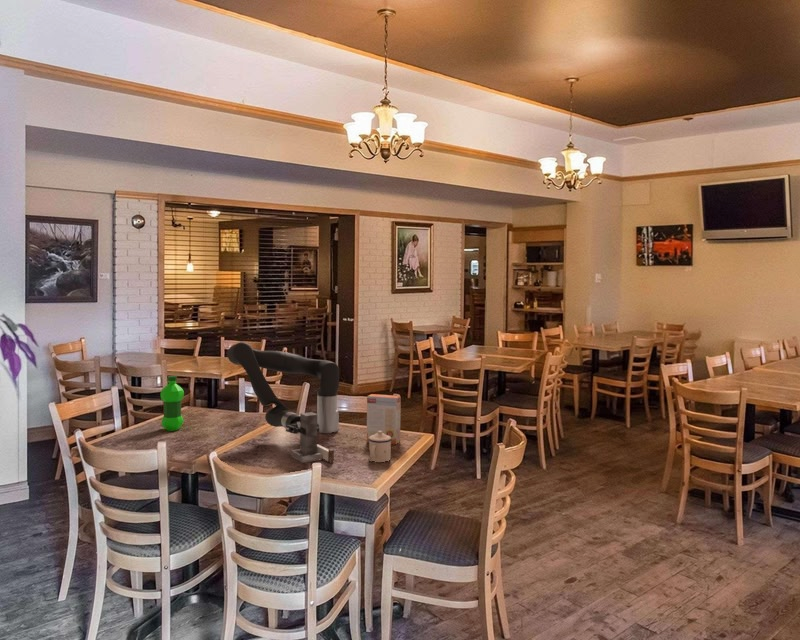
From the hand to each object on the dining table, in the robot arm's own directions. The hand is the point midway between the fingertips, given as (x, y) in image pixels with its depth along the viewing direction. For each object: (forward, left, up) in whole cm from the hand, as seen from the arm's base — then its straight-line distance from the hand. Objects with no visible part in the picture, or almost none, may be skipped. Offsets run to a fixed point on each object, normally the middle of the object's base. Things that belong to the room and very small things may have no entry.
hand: (311, 431), depth 246 cm
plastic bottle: (+33, -77, -11) cm, 84 cm away
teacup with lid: (-22, +15, -12) cm, 29 cm away
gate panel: (-5, -2, -11) cm, 12 cm away
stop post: (0, -3, -9) cm, 10 cm away
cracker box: (-39, -7, -12) cm, 41 cm away
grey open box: (0, -2, -11) cm, 12 cm away
